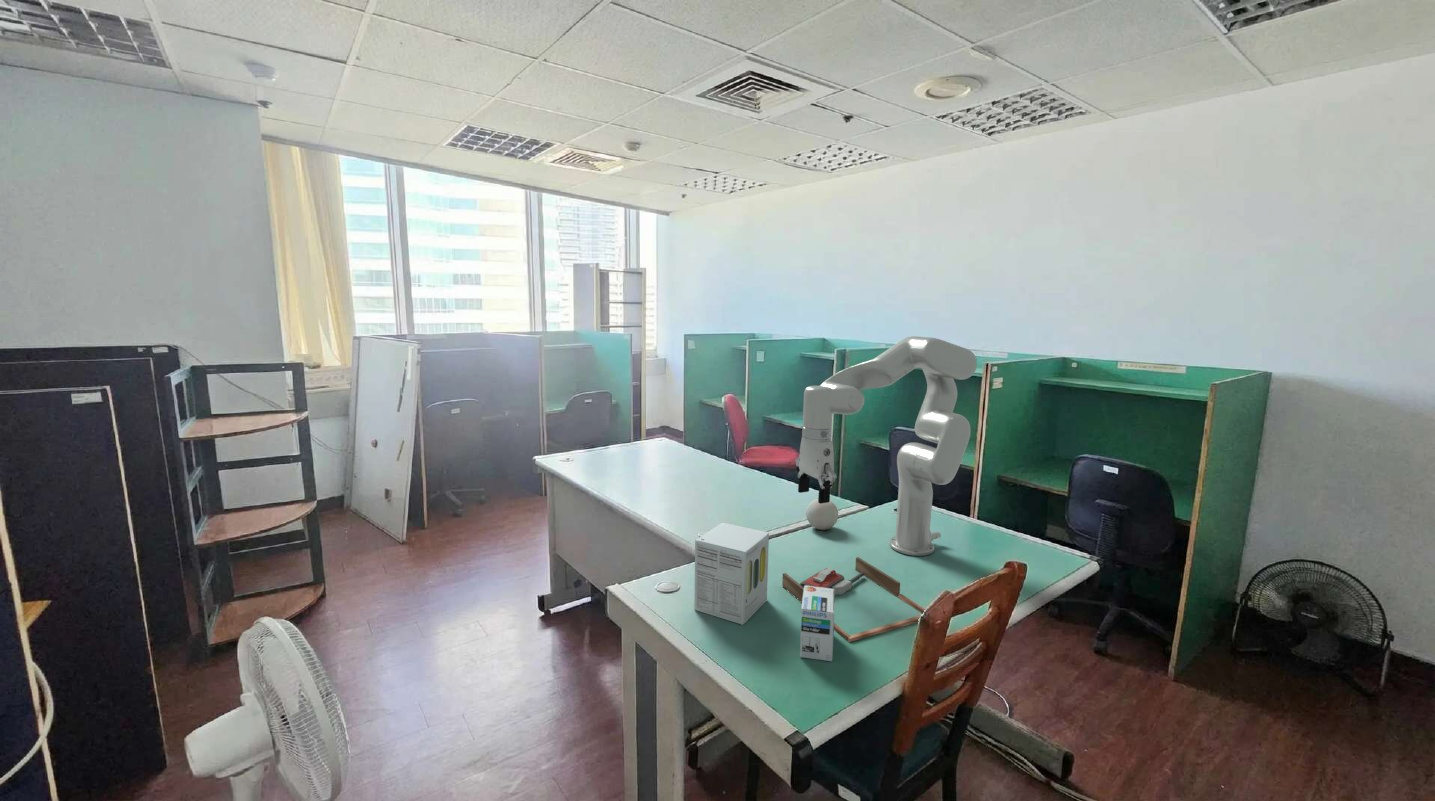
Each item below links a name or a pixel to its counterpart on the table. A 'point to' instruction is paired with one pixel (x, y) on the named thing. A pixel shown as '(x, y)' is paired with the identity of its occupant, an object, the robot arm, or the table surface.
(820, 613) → the light bulb box
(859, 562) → the brown wooden frame
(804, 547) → the table surface
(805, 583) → the walkie-talkie
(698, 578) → the supplement box
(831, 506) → the eye model
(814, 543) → the table surface
